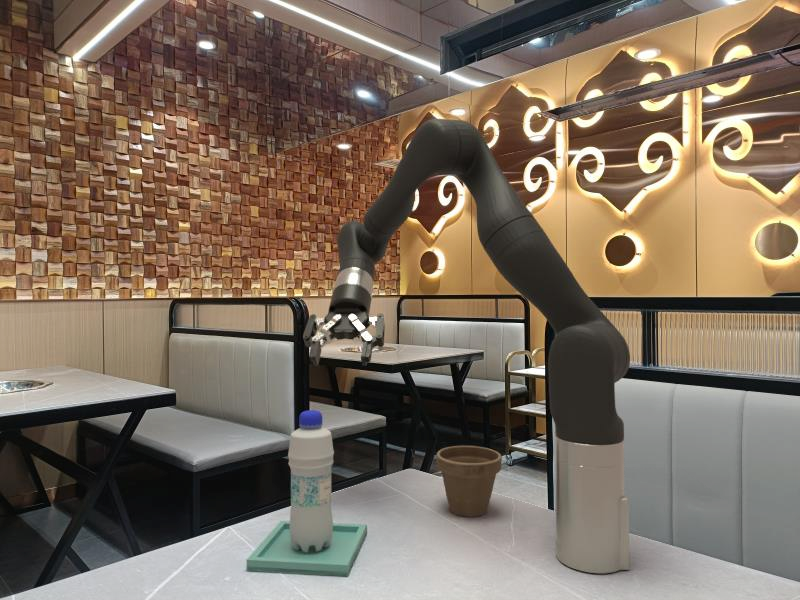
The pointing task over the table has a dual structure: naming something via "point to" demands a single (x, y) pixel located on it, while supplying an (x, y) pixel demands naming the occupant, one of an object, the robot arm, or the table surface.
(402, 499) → the table surface
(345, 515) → the table surface
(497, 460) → the flower pot
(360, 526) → the tray
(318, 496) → the bottle
